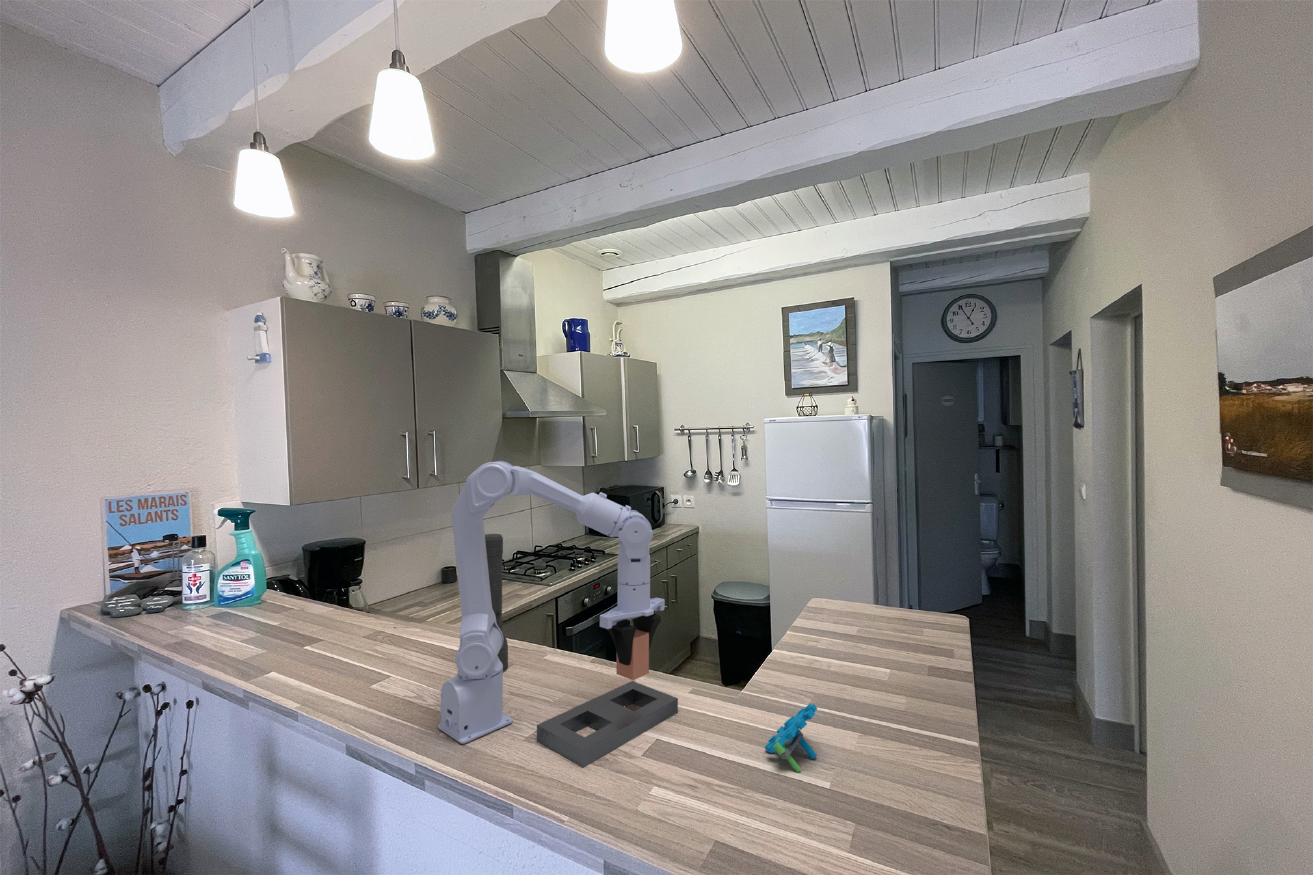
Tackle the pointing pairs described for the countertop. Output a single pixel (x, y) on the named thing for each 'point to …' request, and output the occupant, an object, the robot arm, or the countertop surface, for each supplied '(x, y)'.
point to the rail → (606, 722)
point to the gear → (792, 736)
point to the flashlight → (496, 586)
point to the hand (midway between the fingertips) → (633, 659)
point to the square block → (636, 657)
